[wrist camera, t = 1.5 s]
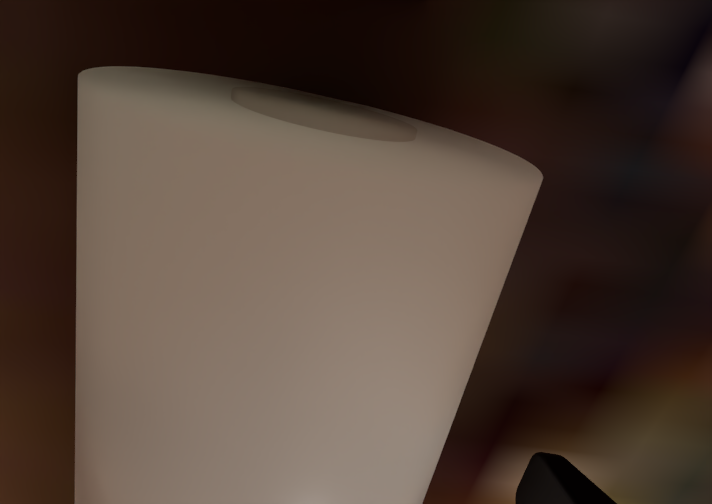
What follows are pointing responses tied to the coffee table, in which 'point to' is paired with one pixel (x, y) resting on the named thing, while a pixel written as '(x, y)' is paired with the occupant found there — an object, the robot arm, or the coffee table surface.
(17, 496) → the coffee table surface
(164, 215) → the cylinder
